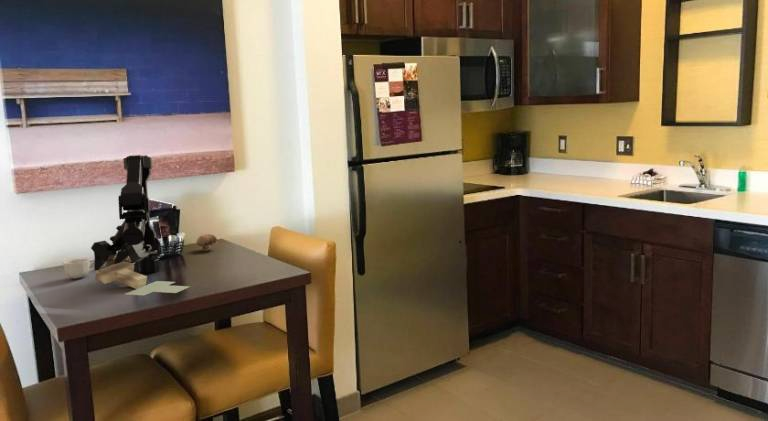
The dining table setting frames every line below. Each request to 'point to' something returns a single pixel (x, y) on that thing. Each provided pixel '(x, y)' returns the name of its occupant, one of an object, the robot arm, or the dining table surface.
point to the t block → (121, 275)
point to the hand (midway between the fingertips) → (106, 267)
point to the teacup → (77, 267)
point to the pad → (157, 288)
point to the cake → (111, 262)
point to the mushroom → (206, 241)
